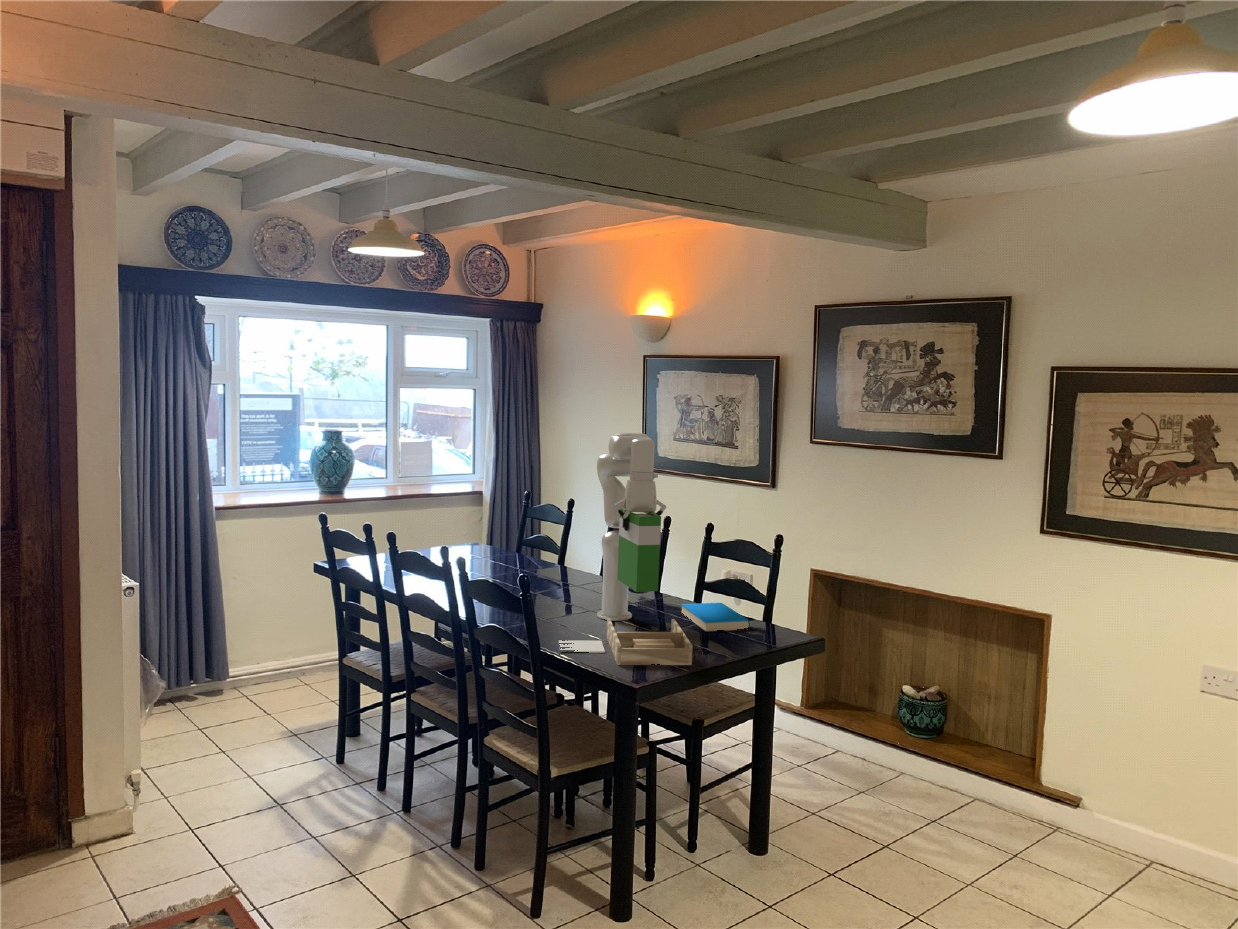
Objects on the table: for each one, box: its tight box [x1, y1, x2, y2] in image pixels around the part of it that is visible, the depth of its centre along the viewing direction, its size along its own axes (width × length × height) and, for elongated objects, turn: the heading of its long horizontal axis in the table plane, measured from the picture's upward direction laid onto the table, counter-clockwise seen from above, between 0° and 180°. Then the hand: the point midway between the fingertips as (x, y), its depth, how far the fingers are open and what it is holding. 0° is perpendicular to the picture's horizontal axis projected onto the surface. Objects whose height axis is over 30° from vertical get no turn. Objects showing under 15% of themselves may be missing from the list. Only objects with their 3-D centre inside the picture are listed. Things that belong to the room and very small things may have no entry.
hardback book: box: [617, 508, 662, 593], centre depth 293 cm, size 18×7×24 cm, turn 20°
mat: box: [558, 639, 606, 654], centre depth 290 cm, size 12×14×1 cm
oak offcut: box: [632, 639, 674, 648], centre depth 281 cm, size 6×12×3 cm, turn 99°
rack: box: [606, 618, 694, 666], centre depth 290 cm, size 31×23×7 cm
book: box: [680, 602, 751, 632], centre depth 329 cm, size 17×4×25 cm
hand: (639, 530), depth 293 cm, fingers closed on hardback book, 8 cm apart
